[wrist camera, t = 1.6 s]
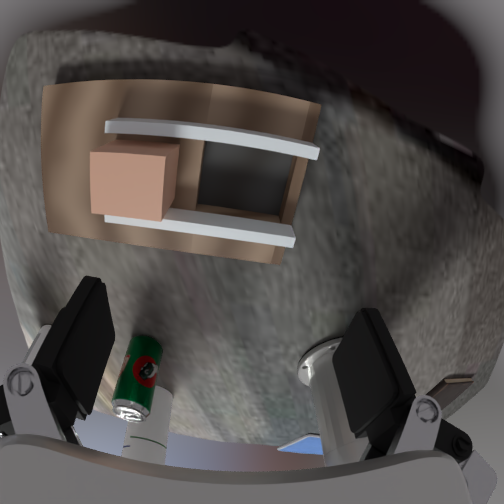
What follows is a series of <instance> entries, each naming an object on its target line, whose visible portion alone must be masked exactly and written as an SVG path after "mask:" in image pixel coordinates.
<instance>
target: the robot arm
mask: <svg viewBox="0 0 504 504" xmlns="http://www.w3.org/2000/svg"><path fill="white" fill-rule="evenodd" d="M114 341H115V331H114V326H113V322H112V317H111V312H110V307H109V302H108V297H107V291H106V285H105V283H102V282H101V279H100V278H97V277H91V276H84V278H83V279H82V281H81V282H80V284H79V285H78V287H77V289H76V290H75V292H74V294H73V295H72V297H71V299H70V300H69V302H68V304H67V305H66V307H64V308H62V309H61V311H60V312H59V314H58V315H57V317H56V319H55V321H54V322H53V324H52V326H51V328H50V330H49V332H48V333H47V335H46V337H45V339H44V341H43V343H42V345H41V347H40V349H39V351H38V353H37V355H36V357H35V359H34V361H33V363H32V365H29V364H25V363H20V364H16V365H14V366H12V367H11V368H10V369H9V370H8V371H7V372H6V374H5V376H4V380H3V385H1V386H0V504H487V502H488V500H489V498H490V496H491V495H492V493H493V491H494V489H495V487H496V484H497V475H496V473H495V471H494V470H493V469H492V468H491V467H490V465H489V464H488V463H487V462H486V461H485V460H484V459H483V458H482V457H481V456H480V455H479V453H478V452H477V451H476V450H473V451H472V441H471V439H470V437H469V436H468V435H467V434H466V433H465V432H463V431H462V430H460V429H458V428H457V427H455V426H453V425H452V424H450V423H448V422H447V421H445V420H443V419H442V418H441V416H442V412H441V408H440V406H439V404H438V403H437V401H436V400H435V399H433V398H432V397H430V396H427V395H420V396H418V397H417V398H416V397H415V393H416V390H415V388H414V385H413V383H412V381H411V378H410V376H409V374H408V372H407V369H406V367H405V365H404V363H403V361H402V358H401V356H400V354H399V352H398V350H397V348H396V345H395V343H394V341H393V339H392V337H391V335H390V333H389V331H388V329H387V327H386V325H385V323H384V321H383V319H382V317H381V315H380V313H379V311H378V310H377V309H376V308H362V309H361V310H360V311H358V312H357V313H356V315H355V317H354V318H353V320H352V322H351V324H350V326H349V328H348V329H347V331H346V333H345V335H344V337H343V338H337V339H333V340H330V341H327V342H325V343H322V344H320V345H318V346H316V347H315V348H313V349H312V350H310V351H309V352H308V353H307V354H305V356H304V357H303V358H302V359H301V361H300V362H299V364H298V368H297V370H298V376H299V379H300V380H301V382H303V383H304V384H305V385H307V386H310V387H311V391H312V397H313V402H314V407H315V412H316V417H317V423H318V428H319V434H320V439H321V445H322V450H323V456H324V461H325V466H326V467H322V468H312V469H302V470H290V471H270V472H231V471H230V472H229V471H212V470H200V469H189V468H181V467H173V466H166V465H160V464H154V463H149V462H143V461H138V460H134V459H129V458H125V457H120V456H116V455H111V454H108V453H104V452H100V451H97V450H93V449H90V448H86V447H83V445H82V444H81V441H80V439H79V438H78V435H77V433H76V431H75V429H74V427H73V425H74V422H75V419H76V418H78V419H81V420H85V419H86V416H87V414H88V415H90V414H91V412H92V409H93V406H94V402H95V399H96V396H97V392H98V389H99V386H100V383H101V379H102V376H103V373H104V370H105V367H106V364H107V361H108V358H109V355H110V352H111V350H112V347H113V344H114Z"/></svg>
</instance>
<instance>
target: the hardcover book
mask: <svg viewBox="0 0 504 504" xmlns="http://www.w3.org/2000/svg"><path fill="white" fill-rule="evenodd" d="M473 382H474V381H472V379H471V378H461V379H443V380H442V381H440V382H439V383H438V384H437V385H436V386H435V387H434V388H433V389H432V390H431V391H429V392H428V393H427V394H426V395H427V396H430V397H432V398H433V399H435V400H436V401H437V403H438V404H439V406H440V408H441V410H443V409H444V408H445V407H446V406H447V405H449V404H450V403H451V402H452V401H453V400H455V399H456V398H457V397H458V396H459V395H460V394H461V393H463V392H464V391H465V390H466V389H467V388H468V387H469V386H470V385H471V384H472V383H473Z"/></svg>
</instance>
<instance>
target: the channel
mask: <svg viewBox="0 0 504 504" xmlns="http://www.w3.org/2000/svg"><path fill="white" fill-rule="evenodd" d="M105 133H121V134H141V135H155V136H168V137H178V138H188V139H197V140H205V141H213V142H220V143H227V144H234V145H241V146H247V147H253V148H259V149H264V150H270V151H275V152H280V153H285V154H290V155H295V156H300V157H304V158H309V159H313V160H317V158H318V154H319V150H320V148H319V147H317V146H316V145H315V144H313V143H310V142H306V141H302V140H297V139H293V138H288V137H283V136H278V135H273V134H268V133H263V132H257V131H251V130H245V129H239V128H232V127H226V126H218V125H211V124H202V123H193V122H183V121H172V120H159V119H141V118H115V119H111V120H107V121H105ZM104 217H105V222H108V223H116V224H124V225H131V226H139V227H147V228H154V229H162V230H169V231H176V232H184V233H191V234H198V235H206V236H213V237H220V238H227V239H234V240H241V241H248V242H255V243H262V244H269V245H276V246H283V247H290V248H293V246H294V242H295V239H296V237H295V235H294V232H293V229H292V226H291V225H286V224H280V223H273V222H267V221H261V220H254V219H248V218H241V217H234V216H227V215H220V214H213V213H206V212H199V211H191V210H183V209H176V208H169V209H168V211H167V212H166V214H165V216H164V218H163V220H162V221H161V222H158V221H151V220H143V219H135V218H127V217H119V216H111V215H104Z"/></svg>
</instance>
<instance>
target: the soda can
mask: <svg viewBox="0 0 504 504" xmlns="http://www.w3.org/2000/svg"><path fill="white" fill-rule="evenodd" d="M162 353H163V349H162V347H161V345H160V344H159V342H158V341H157V340H155V339H154V338H152V337H149V336H145V335H139V336H136V337H133V338H132V339H131V340H130V342H129V345H128V348H127V351H126V355H125V358H124V361H123V364H122V367H121V370H120V374H119V377H118V380H117V384H116V387H115V391H114V394H113V398H112V405H113V412H114V413H115V414H116V415H117V416H118V417H120V418H122V419H124V420H127V421H130V422H135V423H142V422H145V421H146V418H147V417H148V416H149V415H150V413H151V407H152V402H153V397H154V391H155V386H156V382H157V377H158V372H159V367H160V363H161V358H162Z"/></svg>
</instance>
